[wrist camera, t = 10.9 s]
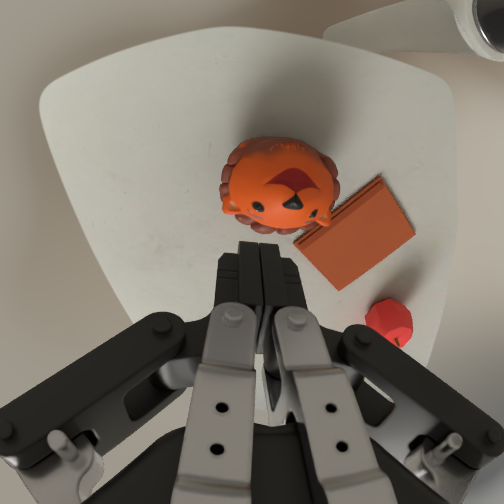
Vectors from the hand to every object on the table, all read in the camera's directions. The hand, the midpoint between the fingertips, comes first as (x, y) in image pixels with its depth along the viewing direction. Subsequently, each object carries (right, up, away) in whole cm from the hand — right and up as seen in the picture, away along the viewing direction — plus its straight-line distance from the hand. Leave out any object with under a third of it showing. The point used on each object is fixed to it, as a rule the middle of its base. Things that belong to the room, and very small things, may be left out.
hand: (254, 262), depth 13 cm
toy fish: (+2, +10, +24) cm, 26 cm away
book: (+14, +2, +29) cm, 32 cm away
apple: (+21, -9, +36) cm, 43 cm away
